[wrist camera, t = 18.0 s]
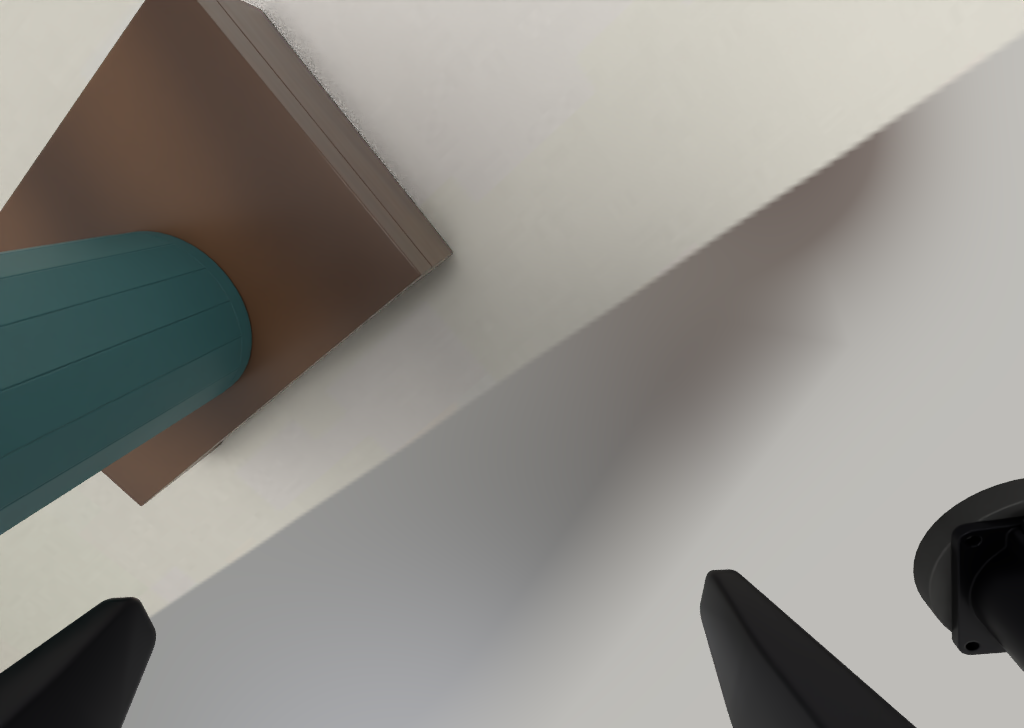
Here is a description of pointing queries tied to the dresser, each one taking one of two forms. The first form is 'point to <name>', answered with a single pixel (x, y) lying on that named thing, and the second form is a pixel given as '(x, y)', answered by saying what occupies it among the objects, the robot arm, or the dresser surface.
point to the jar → (105, 355)
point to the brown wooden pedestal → (228, 200)
